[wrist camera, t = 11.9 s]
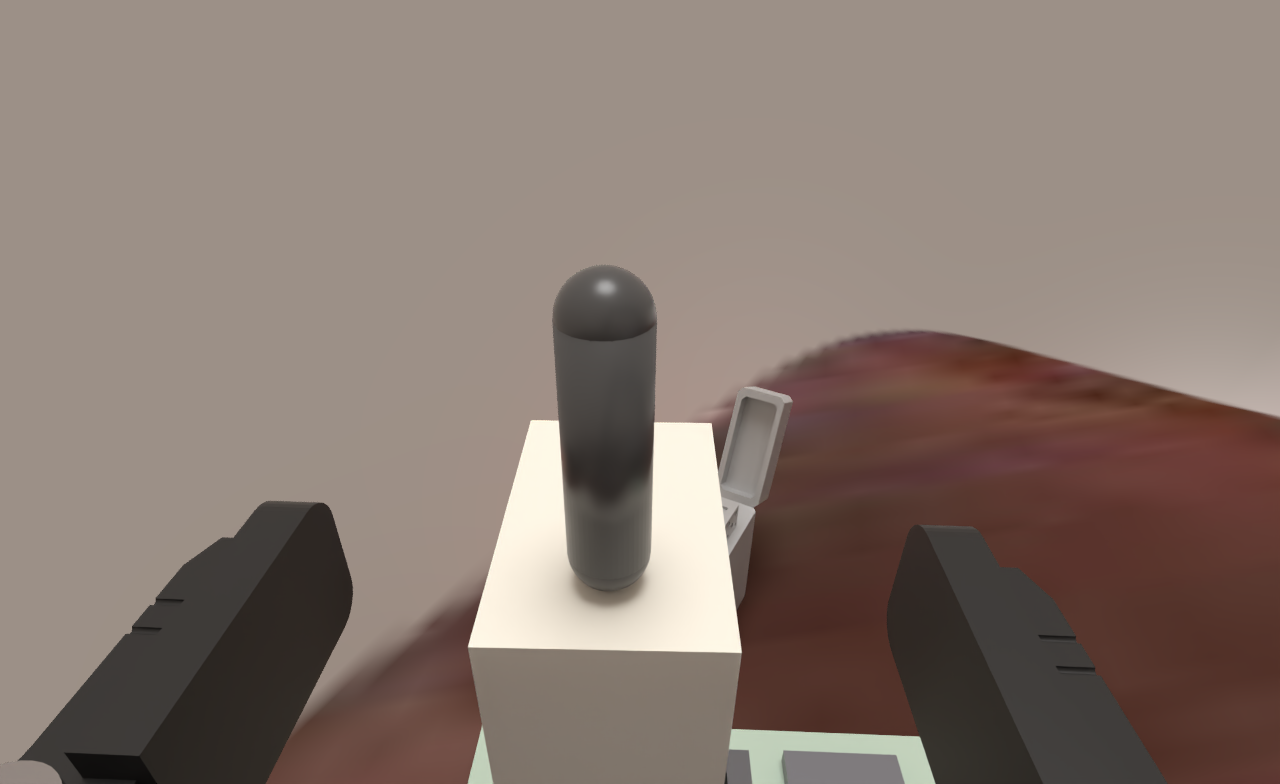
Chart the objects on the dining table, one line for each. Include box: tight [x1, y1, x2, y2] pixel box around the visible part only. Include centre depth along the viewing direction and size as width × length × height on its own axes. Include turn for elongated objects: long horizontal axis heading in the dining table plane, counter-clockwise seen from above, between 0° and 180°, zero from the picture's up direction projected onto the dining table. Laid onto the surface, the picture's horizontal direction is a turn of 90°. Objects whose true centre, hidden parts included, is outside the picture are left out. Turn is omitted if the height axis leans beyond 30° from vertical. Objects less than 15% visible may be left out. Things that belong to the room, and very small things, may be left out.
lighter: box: [718, 387, 793, 611], centre depth 24 cm, size 7×2×8 cm, turn 151°
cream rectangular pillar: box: [468, 265, 742, 784], centre depth 12 cm, size 3×4×17 cm, turn 179°
